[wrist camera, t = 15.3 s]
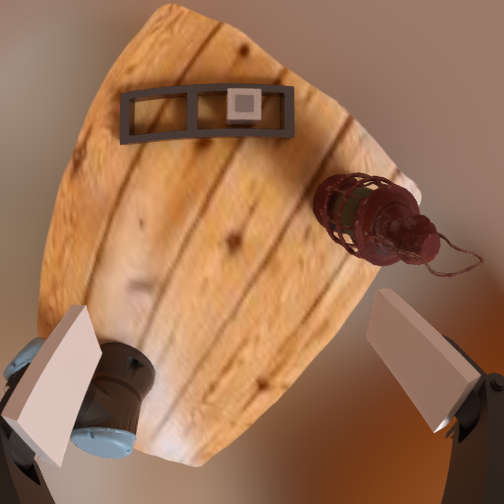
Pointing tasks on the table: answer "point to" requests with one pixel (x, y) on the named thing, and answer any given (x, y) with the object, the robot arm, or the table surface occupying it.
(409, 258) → the lantern
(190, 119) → the dark grey divided frame
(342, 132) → the table surface
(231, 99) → the block
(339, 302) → the table surface
